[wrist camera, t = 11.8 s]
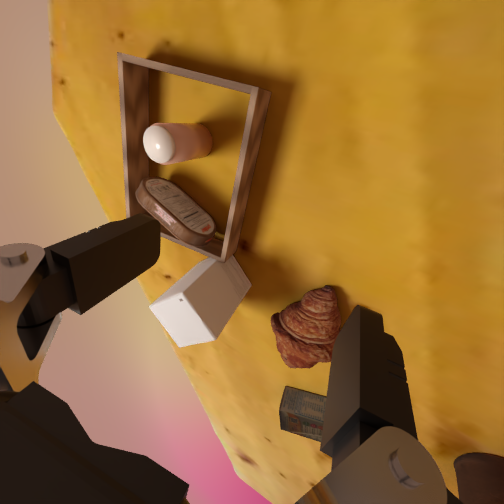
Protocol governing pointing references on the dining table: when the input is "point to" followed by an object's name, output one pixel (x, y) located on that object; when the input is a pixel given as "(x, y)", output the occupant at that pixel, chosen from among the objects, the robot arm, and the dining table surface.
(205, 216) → the tin
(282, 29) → the dining table surface
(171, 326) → the supplement box
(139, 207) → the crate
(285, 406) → the beverage carton
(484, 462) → the pitcher
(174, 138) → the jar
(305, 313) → the pastry
